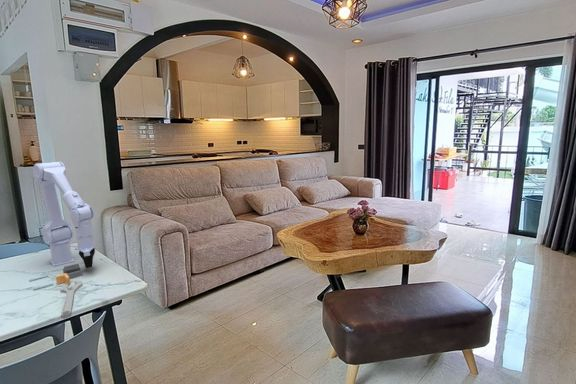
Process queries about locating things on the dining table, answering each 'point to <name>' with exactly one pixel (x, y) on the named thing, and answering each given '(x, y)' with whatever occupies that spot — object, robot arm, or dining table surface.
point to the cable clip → (74, 274)
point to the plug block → (72, 268)
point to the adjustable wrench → (69, 298)
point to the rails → (41, 286)
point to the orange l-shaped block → (63, 279)
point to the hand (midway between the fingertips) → (89, 267)
